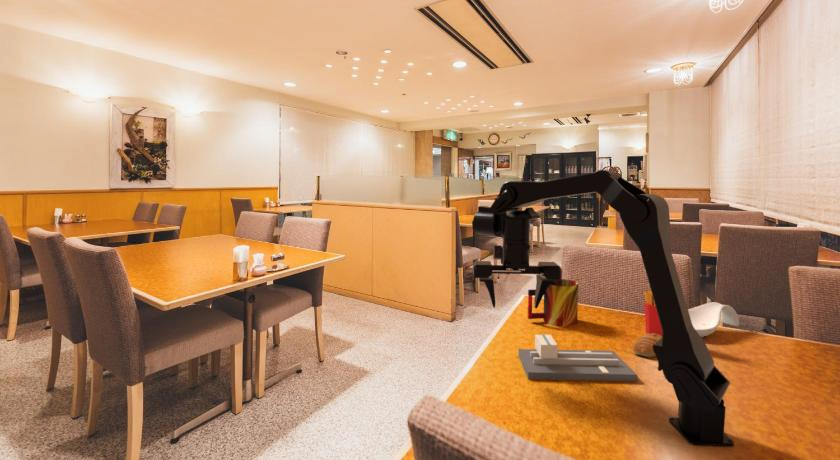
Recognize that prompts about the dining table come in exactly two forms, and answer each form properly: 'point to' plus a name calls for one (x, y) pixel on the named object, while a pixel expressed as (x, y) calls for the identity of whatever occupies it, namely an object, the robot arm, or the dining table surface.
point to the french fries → (651, 315)
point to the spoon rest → (712, 317)
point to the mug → (558, 303)
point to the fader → (546, 346)
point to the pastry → (646, 345)
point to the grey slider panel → (576, 366)
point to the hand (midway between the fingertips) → (514, 307)
